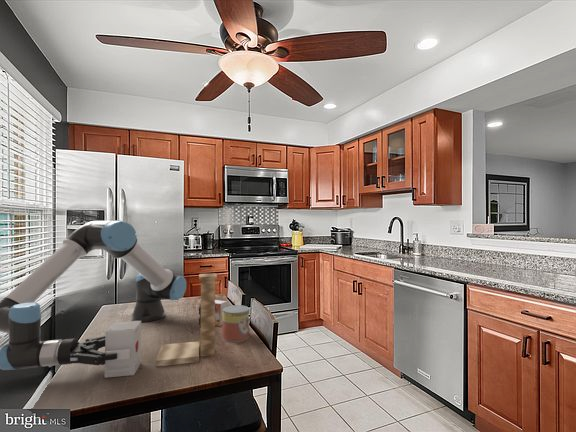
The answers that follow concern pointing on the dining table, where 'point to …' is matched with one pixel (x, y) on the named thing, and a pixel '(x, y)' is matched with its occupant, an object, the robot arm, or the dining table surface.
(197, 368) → the dining table surface
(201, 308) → the oak post
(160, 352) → the maple pad
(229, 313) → the canned food
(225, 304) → the small box
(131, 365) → the supplement box
